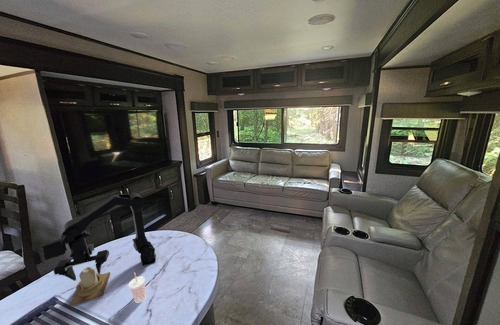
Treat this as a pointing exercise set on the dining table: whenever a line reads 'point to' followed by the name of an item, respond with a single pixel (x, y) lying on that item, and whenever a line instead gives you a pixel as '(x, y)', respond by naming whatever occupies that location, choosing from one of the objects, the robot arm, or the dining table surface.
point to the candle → (88, 277)
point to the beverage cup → (138, 288)
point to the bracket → (90, 290)
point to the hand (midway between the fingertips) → (87, 276)
